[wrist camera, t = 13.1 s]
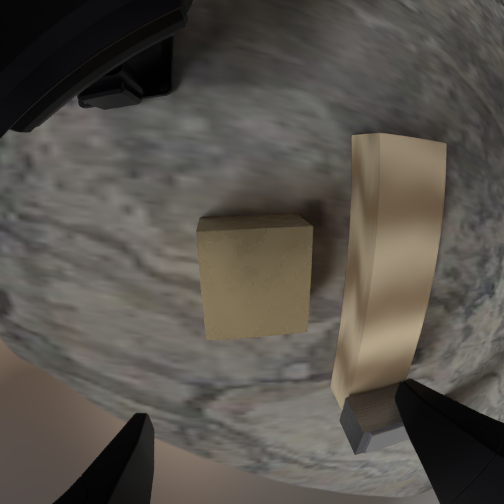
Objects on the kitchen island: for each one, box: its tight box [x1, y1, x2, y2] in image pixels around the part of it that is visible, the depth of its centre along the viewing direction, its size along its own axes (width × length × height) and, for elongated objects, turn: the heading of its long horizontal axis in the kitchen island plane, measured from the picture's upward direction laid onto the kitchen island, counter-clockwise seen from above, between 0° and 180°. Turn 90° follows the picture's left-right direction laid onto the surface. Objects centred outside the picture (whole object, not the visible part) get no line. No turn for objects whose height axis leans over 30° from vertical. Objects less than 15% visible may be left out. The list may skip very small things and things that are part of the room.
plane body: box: [330, 133, 446, 410], centre depth 21 cm, size 22×6×4 cm, turn 2°
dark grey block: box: [340, 384, 409, 455], centre depth 20 cm, size 3×6×4 cm, turn 92°
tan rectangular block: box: [196, 214, 313, 340], centre depth 20 cm, size 7×6×4 cm
